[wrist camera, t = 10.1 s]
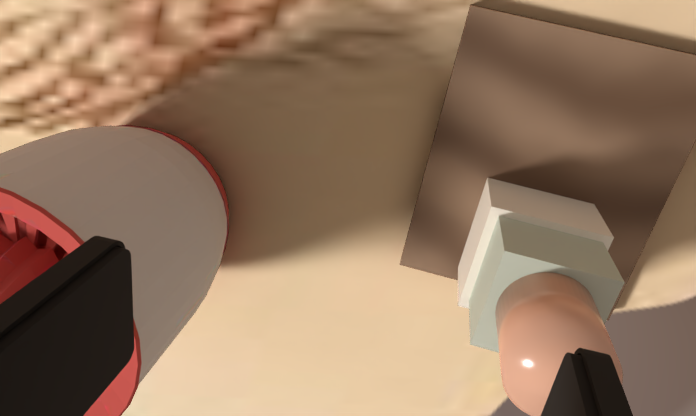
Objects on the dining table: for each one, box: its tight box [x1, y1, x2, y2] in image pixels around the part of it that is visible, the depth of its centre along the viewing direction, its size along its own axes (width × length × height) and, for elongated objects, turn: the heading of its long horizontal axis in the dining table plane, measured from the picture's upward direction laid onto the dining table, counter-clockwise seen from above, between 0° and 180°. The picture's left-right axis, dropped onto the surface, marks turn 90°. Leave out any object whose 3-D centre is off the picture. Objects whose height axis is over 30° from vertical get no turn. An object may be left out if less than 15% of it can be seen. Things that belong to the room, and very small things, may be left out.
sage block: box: [469, 216, 625, 352], centre depth 31 cm, size 6×6×4 cm
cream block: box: [458, 178, 614, 309], centre depth 35 cm, size 7×7×5 cm
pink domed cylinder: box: [495, 272, 623, 416], centre depth 26 cm, size 5×5×5 cm
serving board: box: [400, 5, 696, 320], centre depth 36 cm, size 18×15×1 cm
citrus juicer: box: [0, 125, 229, 416], centre depth 34 cm, size 16×17×20 cm
